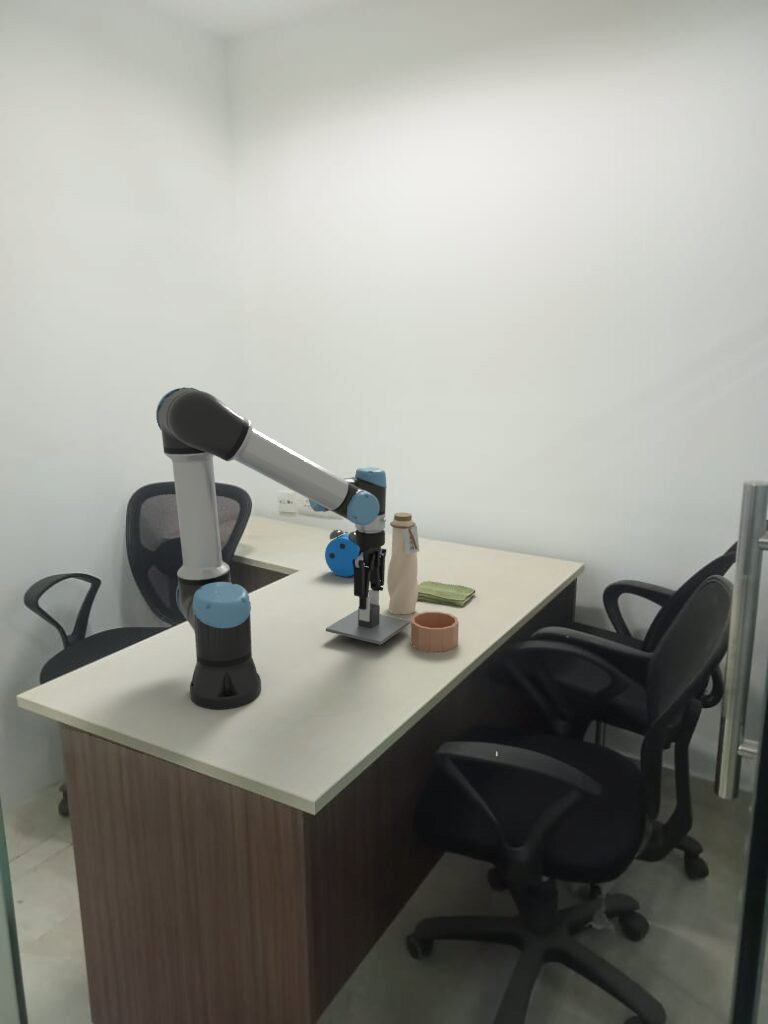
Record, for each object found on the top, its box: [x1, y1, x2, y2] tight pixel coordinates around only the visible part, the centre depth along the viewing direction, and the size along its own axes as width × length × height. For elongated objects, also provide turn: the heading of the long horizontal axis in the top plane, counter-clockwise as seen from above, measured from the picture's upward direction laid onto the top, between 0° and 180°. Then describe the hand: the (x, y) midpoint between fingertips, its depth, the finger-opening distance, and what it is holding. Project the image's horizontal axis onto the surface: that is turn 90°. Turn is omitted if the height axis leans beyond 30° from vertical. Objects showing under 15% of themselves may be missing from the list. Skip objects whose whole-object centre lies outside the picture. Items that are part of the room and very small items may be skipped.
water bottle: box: [386, 512, 420, 615], centre depth 202 cm, size 10×9×28 cm
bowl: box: [410, 611, 460, 653], centre depth 183 cm, size 12×12×6 cm
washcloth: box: [417, 580, 476, 607], centre depth 216 cm, size 13×18×3 cm
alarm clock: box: [324, 529, 360, 578], centre depth 235 cm, size 13×6×15 cm, turn 68°
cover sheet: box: [325, 603, 411, 645], centre depth 186 cm, size 16×16×6 cm
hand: (369, 617), depth 186 cm, fingers closed on cover sheet, 4 cm apart
